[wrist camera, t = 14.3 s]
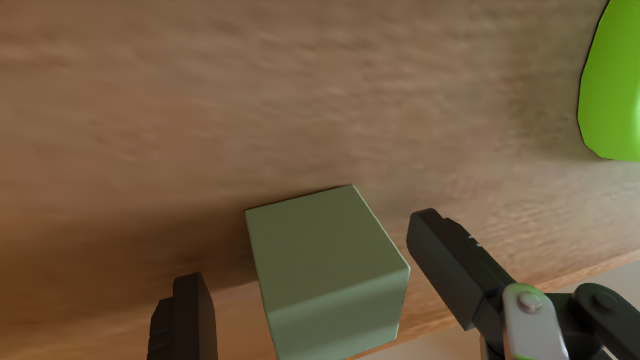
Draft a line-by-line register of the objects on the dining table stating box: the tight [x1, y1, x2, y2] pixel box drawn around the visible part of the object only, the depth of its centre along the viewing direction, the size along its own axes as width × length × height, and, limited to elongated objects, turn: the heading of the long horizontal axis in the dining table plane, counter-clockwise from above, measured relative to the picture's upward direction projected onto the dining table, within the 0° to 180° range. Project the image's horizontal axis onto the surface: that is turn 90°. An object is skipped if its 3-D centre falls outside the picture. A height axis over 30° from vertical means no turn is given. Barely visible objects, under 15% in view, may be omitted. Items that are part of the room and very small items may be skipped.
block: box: [245, 185, 410, 360], centre depth 11 cm, size 4×4×4 cm
